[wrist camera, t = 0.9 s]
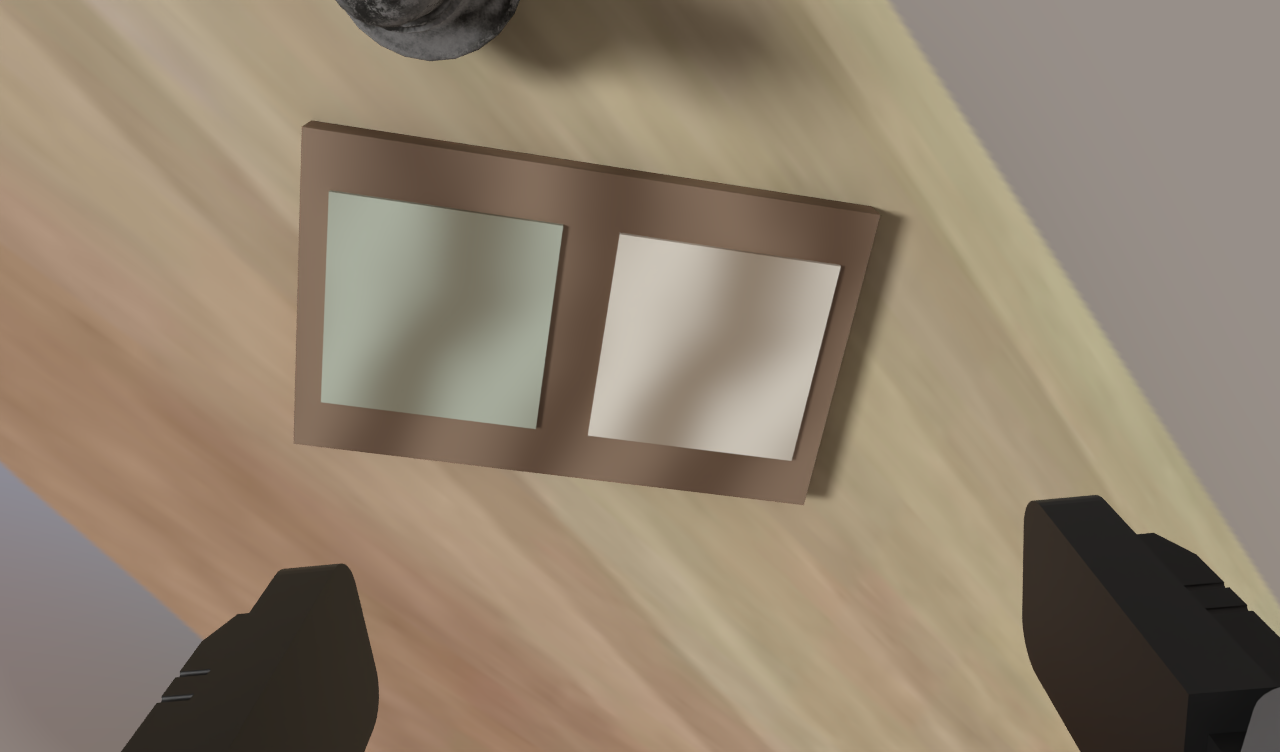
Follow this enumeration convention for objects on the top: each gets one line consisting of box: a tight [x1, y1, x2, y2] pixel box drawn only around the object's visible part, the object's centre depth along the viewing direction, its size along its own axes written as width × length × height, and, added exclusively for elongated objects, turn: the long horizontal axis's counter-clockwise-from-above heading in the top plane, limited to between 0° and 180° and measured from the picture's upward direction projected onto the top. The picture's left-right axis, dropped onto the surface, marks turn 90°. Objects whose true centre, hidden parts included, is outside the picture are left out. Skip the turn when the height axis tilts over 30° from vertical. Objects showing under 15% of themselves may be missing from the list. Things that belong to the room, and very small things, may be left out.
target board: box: [294, 121, 880, 505], centre depth 37 cm, size 20×12×1 cm, turn 81°
